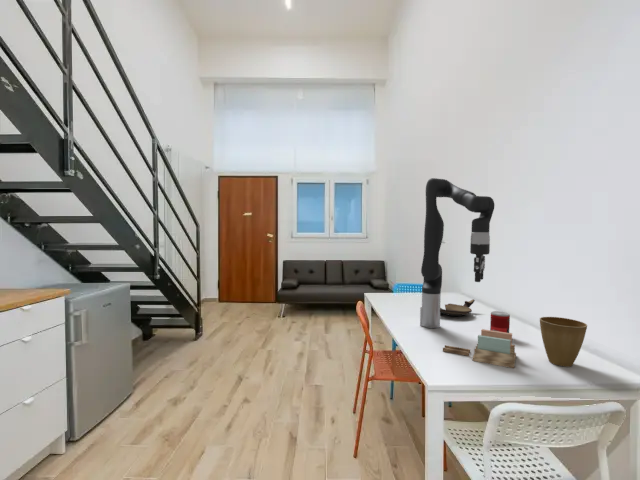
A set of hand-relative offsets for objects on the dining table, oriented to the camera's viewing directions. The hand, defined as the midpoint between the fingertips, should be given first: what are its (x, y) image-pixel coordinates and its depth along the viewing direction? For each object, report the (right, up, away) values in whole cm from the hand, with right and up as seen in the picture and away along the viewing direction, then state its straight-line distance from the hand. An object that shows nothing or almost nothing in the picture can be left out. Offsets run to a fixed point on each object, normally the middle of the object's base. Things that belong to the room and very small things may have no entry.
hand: (479, 280), depth 155 cm
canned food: (+16, -28, +15) cm, 35 cm away
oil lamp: (+11, -27, +56) cm, 63 cm away
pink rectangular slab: (+2, -27, -10) cm, 29 cm away
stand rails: (-13, -28, -8) cm, 32 cm away
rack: (0, -29, -14) cm, 32 cm away
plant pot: (+23, -29, -19) cm, 42 cm away
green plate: (-3, -28, -18) cm, 33 cm away
